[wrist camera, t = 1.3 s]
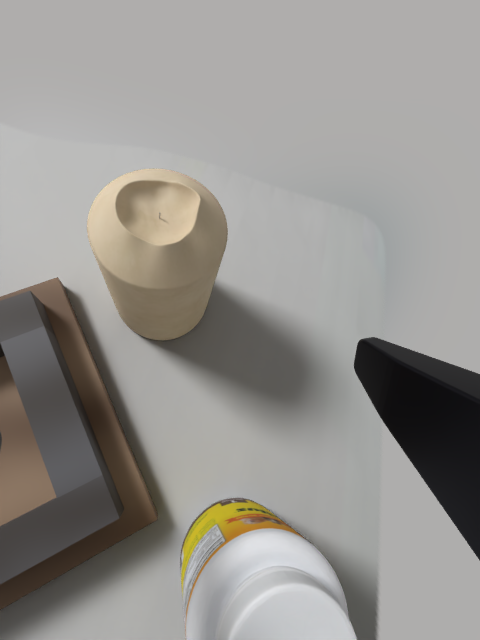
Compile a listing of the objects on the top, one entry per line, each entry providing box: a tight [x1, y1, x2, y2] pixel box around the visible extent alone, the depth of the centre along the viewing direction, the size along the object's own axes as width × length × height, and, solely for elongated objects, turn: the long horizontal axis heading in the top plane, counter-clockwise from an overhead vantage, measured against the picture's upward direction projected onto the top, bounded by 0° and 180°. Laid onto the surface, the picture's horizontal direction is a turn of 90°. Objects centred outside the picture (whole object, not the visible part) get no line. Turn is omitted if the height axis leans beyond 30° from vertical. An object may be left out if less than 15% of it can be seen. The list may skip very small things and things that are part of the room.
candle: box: [87, 169, 228, 340], centre depth 18 cm, size 6×6×10 cm
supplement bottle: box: [180, 498, 357, 640], centre depth 15 cm, size 6×6×10 cm
